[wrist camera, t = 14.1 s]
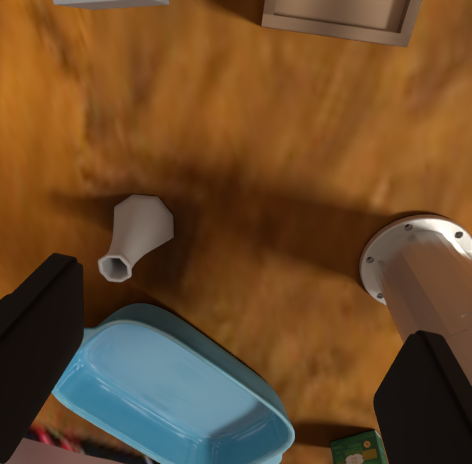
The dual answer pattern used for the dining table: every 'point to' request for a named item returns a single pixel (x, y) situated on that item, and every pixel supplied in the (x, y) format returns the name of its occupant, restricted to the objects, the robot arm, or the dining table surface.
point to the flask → (135, 234)
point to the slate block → (109, 3)
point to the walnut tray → (346, 19)
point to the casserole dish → (173, 392)
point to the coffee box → (359, 449)
